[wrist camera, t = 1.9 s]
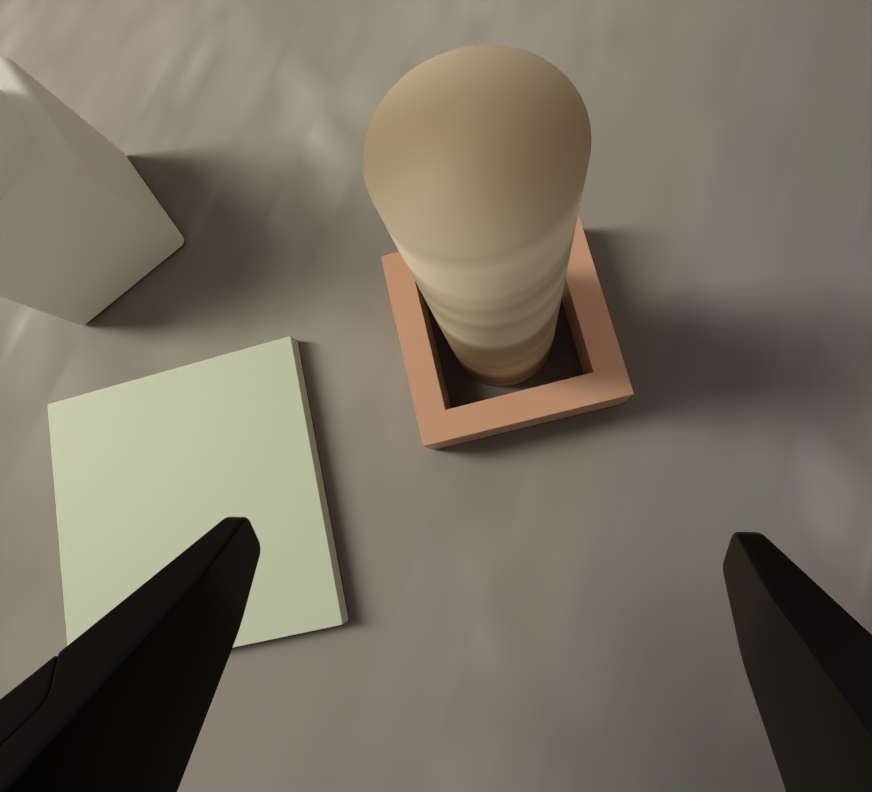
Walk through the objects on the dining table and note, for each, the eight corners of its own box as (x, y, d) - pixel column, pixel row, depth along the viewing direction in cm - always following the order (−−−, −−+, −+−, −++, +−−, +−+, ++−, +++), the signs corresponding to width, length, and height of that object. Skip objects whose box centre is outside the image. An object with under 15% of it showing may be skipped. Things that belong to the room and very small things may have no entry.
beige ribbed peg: (564, 372, 23) (621, 214, 10) (465, 397, 24) (387, 282, 10) (537, 278, 24) (555, 15, 11) (443, 305, 25) (344, 86, 11)
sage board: (348, 619, 23) (342, 624, 22) (84, 675, 25) (70, 681, 24) (297, 340, 26) (290, 335, 25) (61, 406, 27) (47, 404, 26)
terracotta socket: (622, 403, 23) (633, 393, 20) (433, 449, 24) (423, 445, 21) (569, 227, 24) (573, 199, 22) (394, 278, 25) (380, 256, 23)
